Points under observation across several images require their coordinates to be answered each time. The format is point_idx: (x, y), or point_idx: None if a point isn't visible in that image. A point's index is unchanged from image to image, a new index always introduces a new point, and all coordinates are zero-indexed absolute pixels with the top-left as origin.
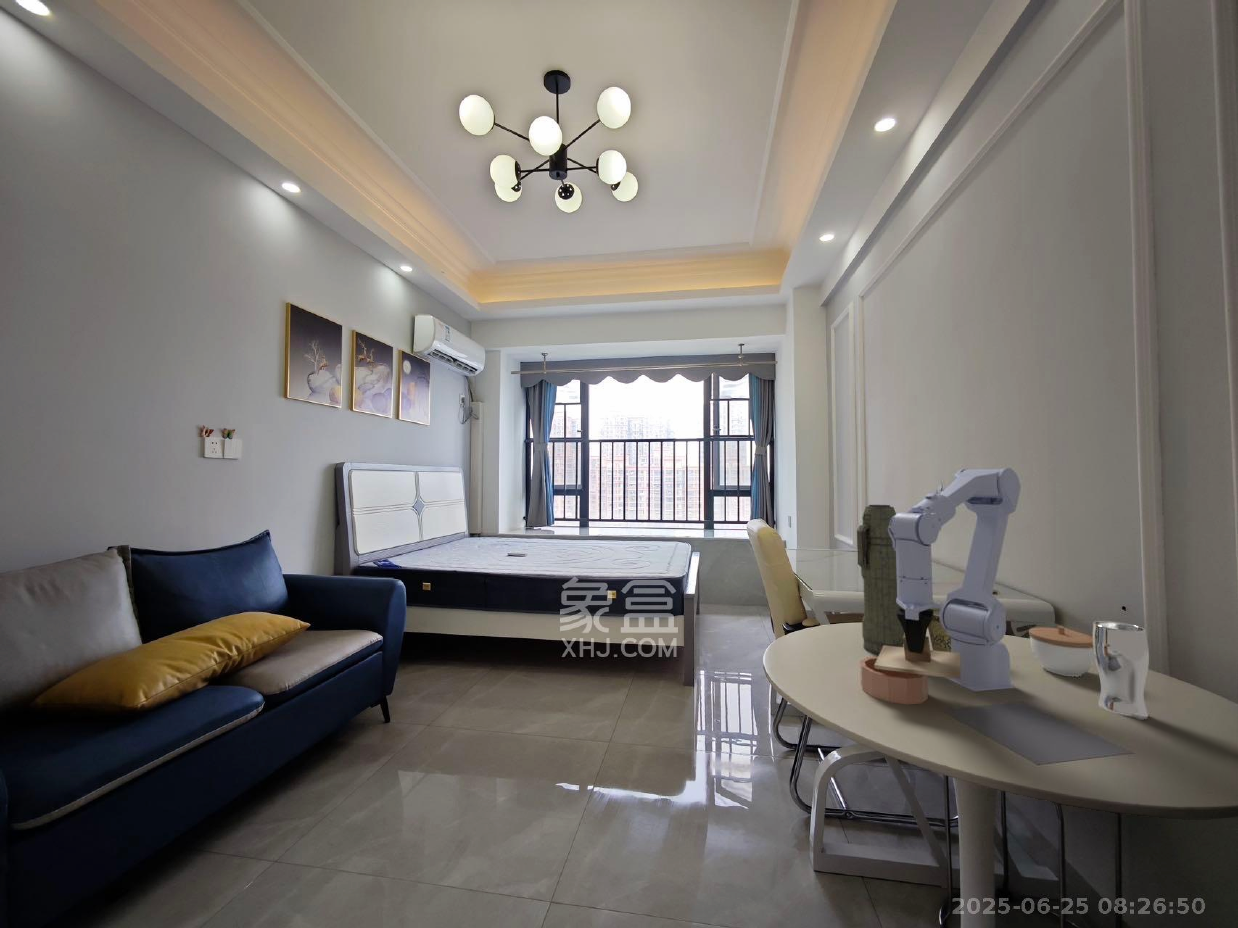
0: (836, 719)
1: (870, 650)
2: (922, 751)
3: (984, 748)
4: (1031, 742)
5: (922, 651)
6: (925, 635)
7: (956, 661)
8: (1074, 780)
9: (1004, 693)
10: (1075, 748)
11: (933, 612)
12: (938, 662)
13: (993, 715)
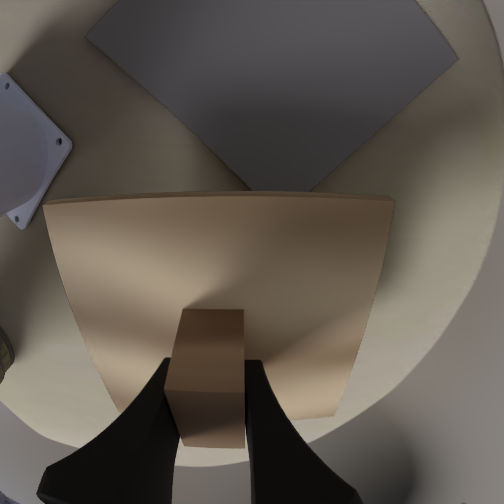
0: (403, 370)
1: (12, 360)
2: (473, 245)
3: (429, 135)
4: (367, 31)
5: (262, 364)
6: (260, 421)
7: (173, 214)
8: (458, 19)
9: (36, 84)
10: None
11: (81, 498)
12: (231, 283)
13: (235, 87)
